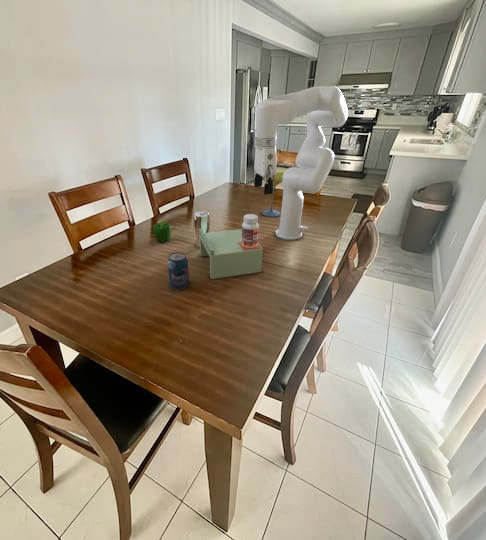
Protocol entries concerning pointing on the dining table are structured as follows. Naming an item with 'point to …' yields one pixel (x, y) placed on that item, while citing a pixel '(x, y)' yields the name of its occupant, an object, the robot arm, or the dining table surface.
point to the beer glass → (201, 224)
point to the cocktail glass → (277, 180)
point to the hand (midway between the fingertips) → (262, 190)
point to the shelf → (229, 254)
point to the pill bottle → (250, 231)
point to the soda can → (178, 270)
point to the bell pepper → (162, 231)
